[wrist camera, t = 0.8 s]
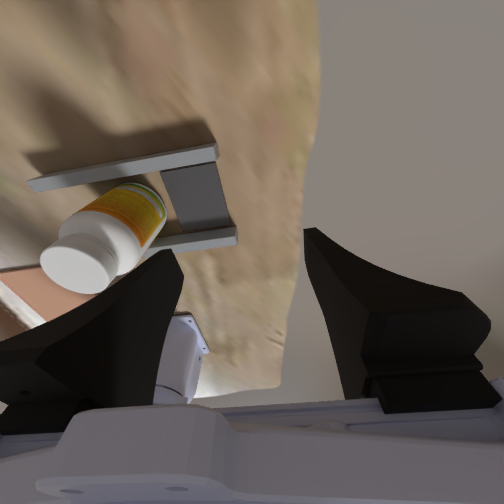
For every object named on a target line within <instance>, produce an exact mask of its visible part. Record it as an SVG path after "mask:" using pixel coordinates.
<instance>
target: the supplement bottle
mask: <svg viewBox="0 0 504 504" xmlns="http://www.w3.org/2000/svg"><path fill="white" fill-rule="evenodd" d="M166 218H167V212H166V208H165V205H164V203H163V201H162V200H161V198H160V197H159V196H158V195H157V194H156V193H155V192H154V191H153V190H152V189H150V188H148V187H146V186H144V185H142V184H139V183H131V182H130V183H123V184H120V185H118V186H116V187H114V188H113V189H111V190H110V191H108V192H107V193H105V194H104V195H102V196H101V197H99V198H98V199H96V200H95V201H93V202H92V203H90V204H89V205H87V206H85V207H84V208H82V209H81V210H79V211H78V212H76V213H75V214H73V215H72V216H70V217H69V218H68V219H66V220H65V221H64V222H63V224H62V225H61V227H60V230H59V239H58V240H56V241H55V242H54V243H52V244H51V245H50V246H49V247H47V248H46V249H45V250H44V251H43V252H42V253H41V256H40V264H41V267H42V269H43V271H44V272H45V273H46V274H47V276H48V277H49V278H51V279H52V280H53V281H54V282H56V283H57V284H58V285H60V286H62V287H64V288H66V289H68V290H71V291H74V292H77V293H83V294H94V293H98V292H101V291H103V290H104V289H106V288H107V286H108V285H109V284H110V283H111V281H112V280H113V279H114V278H115V277H116V276H118V275H122V274H125V273H127V272H129V271H130V270H131V269H133V268H134V267H135V265H136V264H137V263H138V262H139V260H140V259H141V258H142V256H143V255H144V253H145V252H146V250H147V249H148V248H149V246H150V245H151V243H152V242H153V240H154V239H155V238H156V236H157V235H158V233H159V232H160V231H161V229H162V228H163V226H164V224H165V222H166Z"/></svg>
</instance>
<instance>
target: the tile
mask: <svg viewBox="0 0 504 504" xmlns="http://www.w3.org/2000/svg"><path fill="white" fill-rule="evenodd" d="M0 280H1V281H2V282H3V283H4V284H5V285H6V286H7V287H9V288H10V289H11V290H12V291H13V292H14V293H15V294H16V295H18V296H19V297H20V298H21V299H22V300H23V301H24V302H25V303H26V304H28V305H29V306H30V307H31V308H32V309H33V310H34V311H35V312H37V313H38V314H39V315H40V316H41V317H42V318H43V319H44V320H46V321H47V322H48V321H50V320H52V319H55V318H57V317H59V316H61V315H63V314H65V313H67V312H69V311H70V310H72V309H74V308H76V307H78V306H80V305H81V304H83V303H85V302H87V301H89V300H90V299H92V298H94V297H95V296H97V295H98V294H97V293H94V294H83V293H77V292H74V291H71V290H68V289H66V288H64V287H62V286H60V285H58V284H57V283H56V282H54V281H53V280H52V279H51V278H49V277H48V276H47V274H46V273H45V272H44V271H43V269H42V267H41V266H39V267H32V268H25V269H17V270H10V271H3V272H0Z"/></svg>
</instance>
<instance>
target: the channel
mask: <svg viewBox="0 0 504 504" xmlns="http://www.w3.org/2000/svg"><path fill="white" fill-rule="evenodd" d="M219 155H220V154H219V150H218V145H217V142H215V143H210V144H205V145H199V146H194V147H188V148H183V149H178V150H172V151H167V152H162V153H156V154H151V155H146V156H140V157H135V158H129V159H124V160H119V161H113V162H108V163H103V164H97V165H92V166H87V167H81V168H76V169H70V170H65V171H60V172H54V173H49V174H44V175H42V176H39V177H36V178H33V179H31V180H28V181H26V182H27V183H28V184H29V186H30V187H31V188H32V190H33V191H34V192H35V193H36V192H42V191H48V190H53V189H59V188H64V187H70V186H76V185H81V184H87V183H93V182H98V181H104V180H109V179H115V178H121V177H126V176H132V175H137V174H143V173H149V172H154V171H160V170H166V169H171V168H177V167H182V166H188V165H194V164H199V163H205V162H210V161H216V160H217V159H218V157H219ZM160 175H161V177H162V180H163V182H164V185H165V187H166V190H167V192H168V195H169V197H170V200H171V202H172V205H173V207H174V210H175V212H176V215H177V217H178V220H179V222H180V225H181V227H182V230H183V232H184V231H190V230H197V229H204V228H211V227H218V226H224V225H230V224H231V222H230V218H229V214H228V210H227V206H226V202H225V198H224V194H223V190H222V186H221V182H220V178H219V174H218V170H217V166H216V162H213V163H207V164H202V165H196V166H190V167H185V168H179V169H174V170H168V171H162V172H160ZM237 243H238V231H237V226H235V227H228V228H222V229H215V230H208V231H201V232H194V233H187V234H180V235H174V236H167V237H160V238H155V239H154V240H153V242H152V243H151V245H150V246H149V248H148V249H147V250H146V252H145V253H144V255H143V256H142V258H145V257H151V256H152V255H154V254H155V253H156V252H158V251H160V250H163V249H170V248H171V249H172V251H173V253H181V252H189V251H196V250H203V249H211V248H218V247H225V246H233V245H237Z"/></svg>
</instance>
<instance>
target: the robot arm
mask: <svg viewBox="0 0 504 504" xmlns="http://www.w3.org/2000/svg"><path fill="white" fill-rule="evenodd" d="M304 254H305V263H306V268H307V272H308V276H309V278H310V281H311V284H312V286H313V289H314V291H315V294H316V297H317V299H318V302H319V304H320V307H321V309H322V312H323V315H324V318H325V321H326V325H327V329H328V332H329V336H330V340H331V344H332V348H333V351H334V355H335V359H336V363H337V367H338V371H339V375H340V380H341V384H342V388H343V392H344V397H345V400H337V401H321V402H305V403H291V404H274V405H258V406H243V407H228V408H227V407H226V408H209V407H205V406H201V405H198V404H189V403H190V402H191V400H192V399H193V397H194V395H195V393H196V389H197V384H198V379H199V374H200V369H201V364H202V358H203V354H207V353H209V348H208V346H207V344H206V342H205V340H204V338H203V336H202V334H201V332H200V330H199V328H198V326H197V324H196V322H195V320H194V318H193V316H192V315H180V316H173V313H174V311H175V308H176V305H177V302H178V300H179V297H180V294H181V290H182V286H183V280H184V275H183V272H182V270H181V268H180V266H179V264H178V262H177V260H176V258H175V255H174V253H173V251H172V249H171V248H170V249H163V250H160V251H158V252H156V253H155V254H154V255H152V256H151V257H150V258H148V259H147V260H146V261H144V262H143V263H142V264H140V265H139V266H138V267H137V268H135V269H134V270H133V271H131V272H130V273H129V274H127V275H126V276H125V277H123V278H122V279H121V280H119V281H118V282H117V283H115V284H114V285H112V286H111V287H109V288H108V289H106V290H105V291H103V292H102V293H100V294H99V295H97V296H95V297H94V298H92V299H90V300H89V301H87V302H85V303H83V304H81V305H80V306H78V307H76V308H74V309H72V310H70V311H69V312H67V313H65V314H63V315H61V316H59V317H57V318H55V319H52V320H50V321H48V322H46V323H44V324H42V325H40V326H37V327H35V328H33V329H30V330H28V331H26V332H23V333H21V334H18V335H16V336H14V337H11V338H9V339H6V340H4V341H1V342H0V401H1V402H3V403H6V404H7V405H8V407H7V408H6V409H5V410H4V412H3V413H2V414H0V504H504V377H500V378H496V379H493V380H491V381H489V382H488V380H487V379H486V378H485V377H484V376H483V374H482V373H481V372H480V371H479V370H482V369H483V365H482V363H481V362H480V361H479V360H478V359H477V358H476V357H475V355H474V353H475V352H476V351H477V350H478V348H479V347H480V345H481V344H482V343H483V342H484V340H485V339H486V338H487V336H488V334H489V332H490V330H491V321H490V319H489V318H488V316H487V315H486V314H485V313H484V312H483V311H482V310H480V309H479V308H478V307H477V306H476V305H475V304H474V303H473V302H472V301H471V300H469V298H467V297H466V296H465V295H464V294H463V293H462V292H458V291H454V290H450V289H446V288H442V287H438V286H434V285H429V284H426V283H423V282H420V281H416V280H413V279H410V278H407V277H404V276H401V275H398V274H395V273H393V272H390V271H388V270H385V269H383V268H380V267H378V266H376V265H374V264H372V263H370V262H368V261H366V260H363V259H361V258H360V257H358V256H356V255H354V254H353V253H351V252H349V251H348V250H346V249H344V248H343V247H341V246H340V245H338V244H337V243H335V242H334V241H332V240H331V239H330V238H329V237H327V236H326V235H325V234H323V233H322V232H321V231H320V230H318V229H317V228H316V227H314V228H307V229H304Z"/></svg>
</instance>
